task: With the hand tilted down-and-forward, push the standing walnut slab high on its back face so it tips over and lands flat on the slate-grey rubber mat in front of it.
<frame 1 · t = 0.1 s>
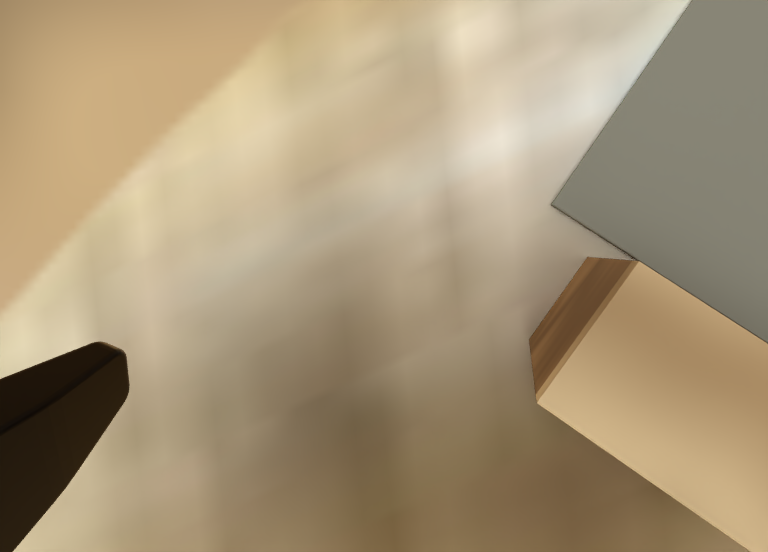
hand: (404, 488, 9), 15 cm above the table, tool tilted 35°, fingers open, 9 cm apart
slab: (710, 399, 22), on the table
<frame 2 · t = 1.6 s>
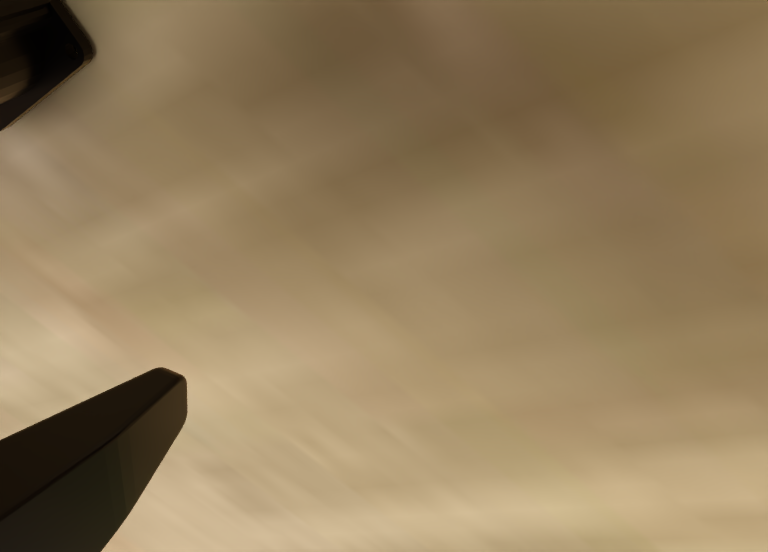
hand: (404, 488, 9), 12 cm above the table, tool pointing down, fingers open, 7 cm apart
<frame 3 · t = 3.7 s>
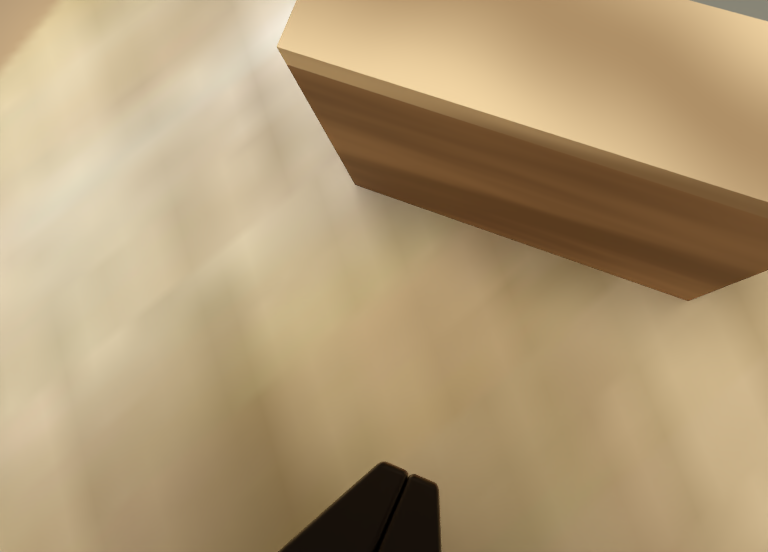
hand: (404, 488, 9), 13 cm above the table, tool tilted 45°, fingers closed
slab: (531, 194, 23), on the table
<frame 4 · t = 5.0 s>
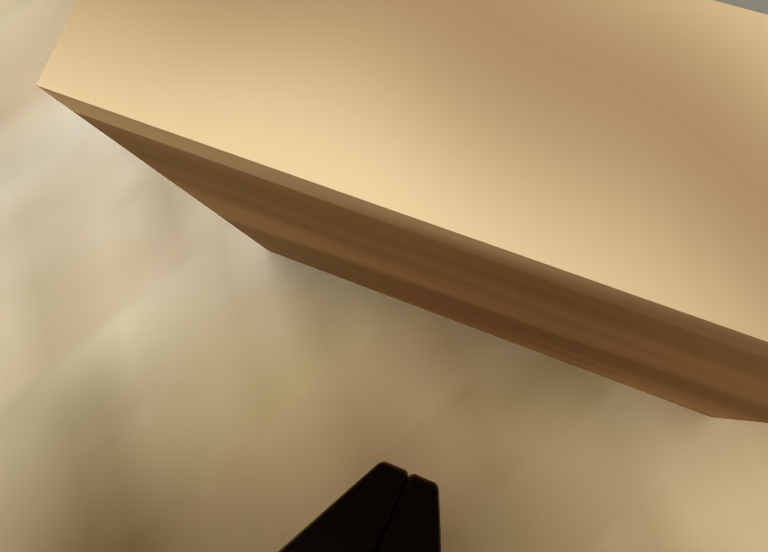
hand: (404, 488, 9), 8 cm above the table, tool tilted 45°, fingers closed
slab: (499, 266, 17), on the table
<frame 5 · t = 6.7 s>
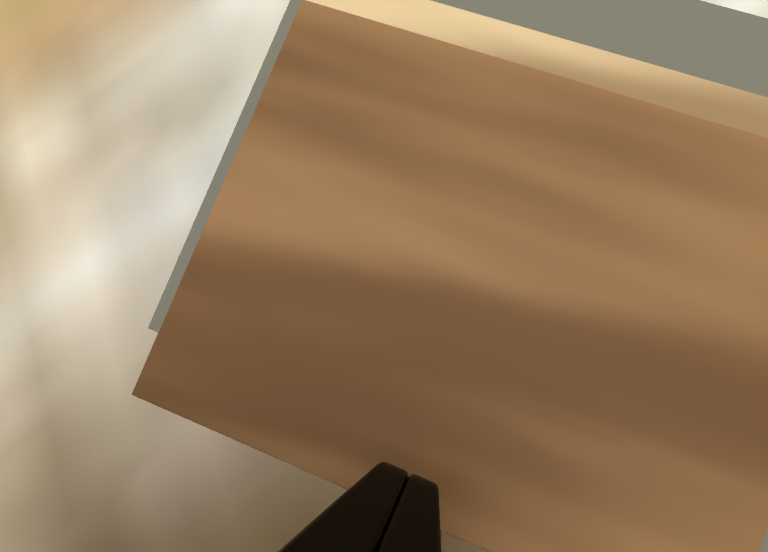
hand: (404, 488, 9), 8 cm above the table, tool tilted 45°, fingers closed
mat: (522, 206, 17), on the table
slab: (412, 499, 14), point 2 cm above the table, tilted 90°, touching mat
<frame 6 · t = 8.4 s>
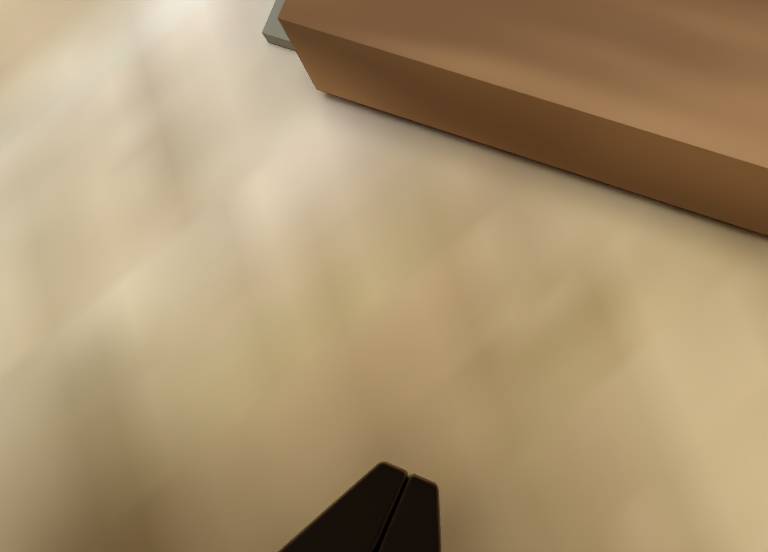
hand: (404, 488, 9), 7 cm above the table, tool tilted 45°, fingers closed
slab: (547, 136, 14), point 2 cm above the table, tilted 90°, touching mat
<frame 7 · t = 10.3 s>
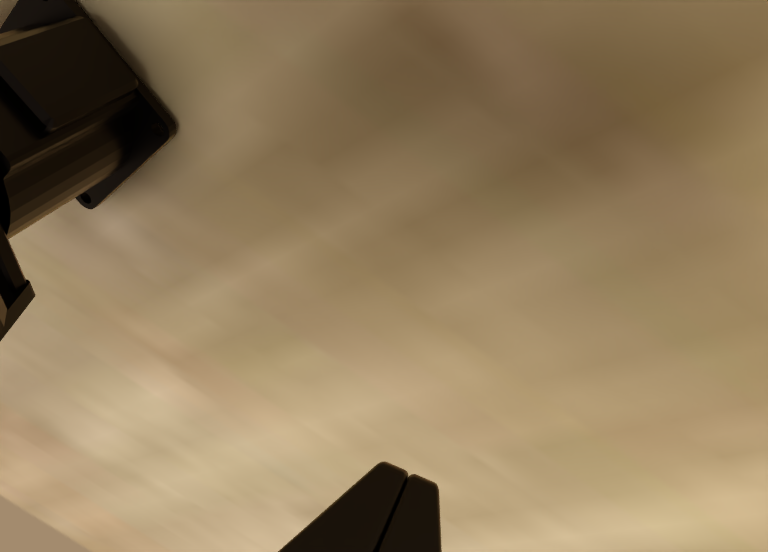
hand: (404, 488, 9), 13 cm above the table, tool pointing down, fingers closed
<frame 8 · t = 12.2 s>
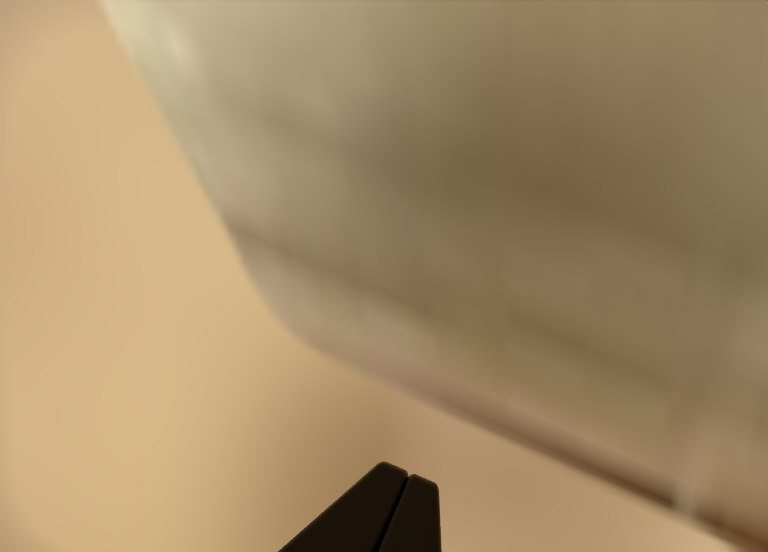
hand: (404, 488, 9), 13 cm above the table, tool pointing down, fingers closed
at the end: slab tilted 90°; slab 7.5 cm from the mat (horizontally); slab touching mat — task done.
